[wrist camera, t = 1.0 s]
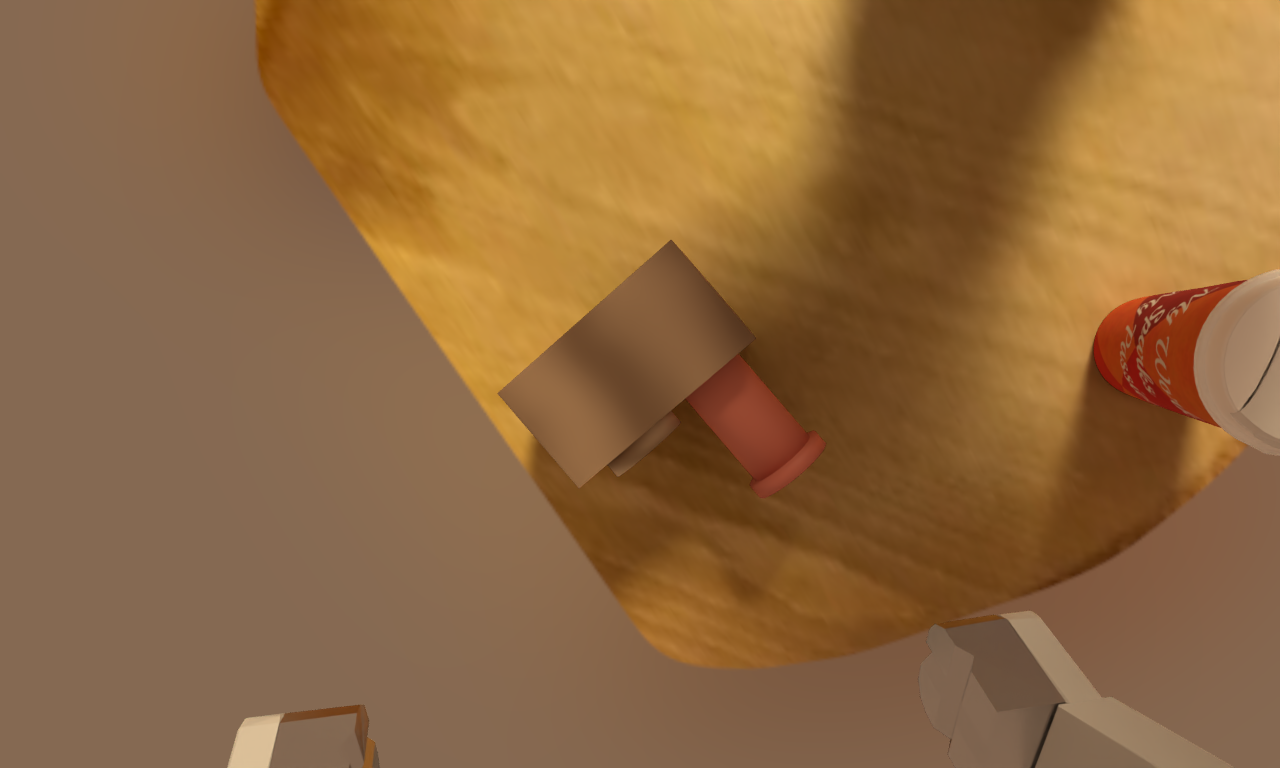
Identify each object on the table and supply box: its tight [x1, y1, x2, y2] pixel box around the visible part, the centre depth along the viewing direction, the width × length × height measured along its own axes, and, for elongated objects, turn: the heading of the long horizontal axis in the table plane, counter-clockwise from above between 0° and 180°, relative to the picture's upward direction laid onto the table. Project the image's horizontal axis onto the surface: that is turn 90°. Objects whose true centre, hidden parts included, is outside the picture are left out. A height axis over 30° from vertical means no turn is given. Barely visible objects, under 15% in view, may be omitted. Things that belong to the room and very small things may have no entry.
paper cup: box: [1094, 269, 1280, 456], centre depth 40 cm, size 8×8×14 cm
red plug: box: [685, 354, 826, 498], centre depth 44 cm, size 4×11×4 cm, turn 40°
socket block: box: [498, 240, 756, 488], centre depth 45 cm, size 11×7×11 cm, turn 131°
